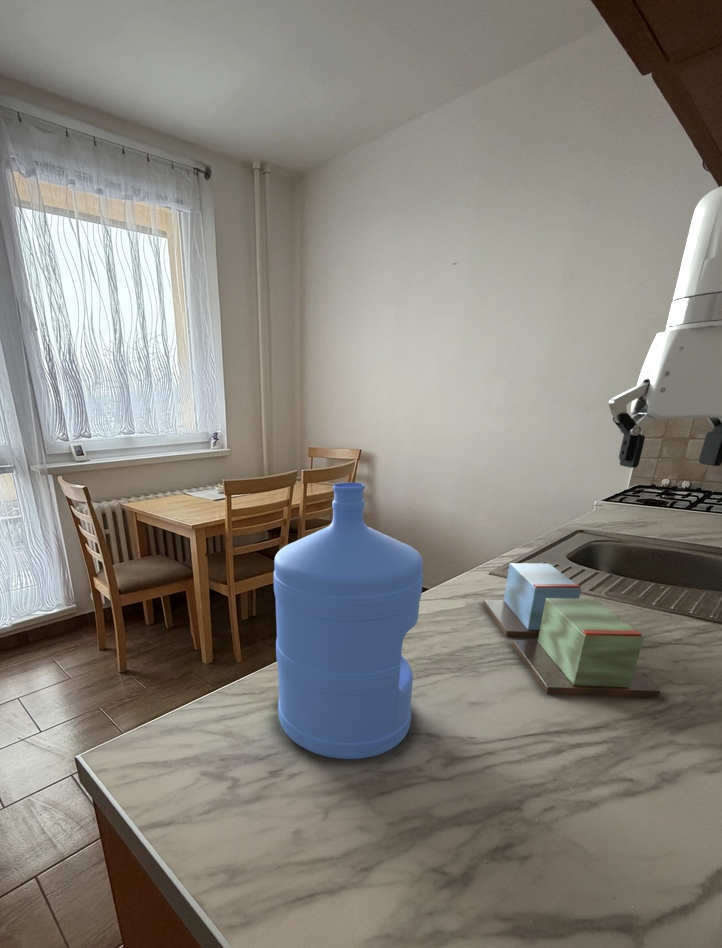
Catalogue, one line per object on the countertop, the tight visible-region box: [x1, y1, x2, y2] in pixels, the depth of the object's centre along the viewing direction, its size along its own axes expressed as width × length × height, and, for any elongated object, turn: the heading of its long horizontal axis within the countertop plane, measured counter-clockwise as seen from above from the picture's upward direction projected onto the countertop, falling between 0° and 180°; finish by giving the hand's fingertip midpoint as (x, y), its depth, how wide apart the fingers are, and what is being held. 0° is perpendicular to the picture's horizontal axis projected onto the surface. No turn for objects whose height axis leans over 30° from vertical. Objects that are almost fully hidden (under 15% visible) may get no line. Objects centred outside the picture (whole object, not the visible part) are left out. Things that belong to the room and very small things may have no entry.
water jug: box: [273, 482, 424, 760], centre depth 53 cm, size 16×16×28 cm
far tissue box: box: [503, 562, 582, 630], centre depth 79 cm, size 12×6×7 cm, turn 173°
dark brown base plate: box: [482, 599, 540, 638], centre depth 81 cm, size 13×13×2 cm
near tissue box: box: [537, 598, 644, 687], centre depth 64 cm, size 12×6×7 cm, turn 173°
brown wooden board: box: [512, 639, 661, 699], centre depth 66 cm, size 13×13×2 cm
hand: (668, 465), depth 63 cm, fingers open, 9 cm apart
